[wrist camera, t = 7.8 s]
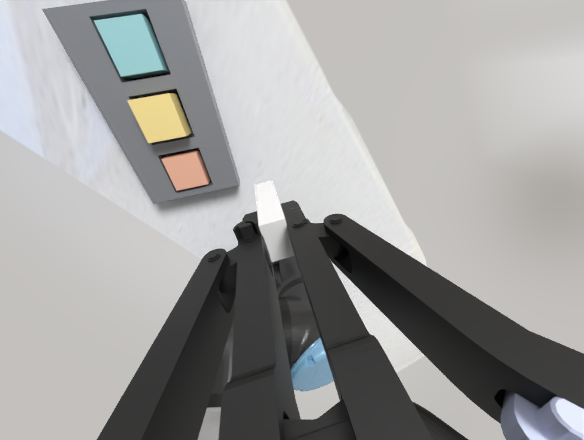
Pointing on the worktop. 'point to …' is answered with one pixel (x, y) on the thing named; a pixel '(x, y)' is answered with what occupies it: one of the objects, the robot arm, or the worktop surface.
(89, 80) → the button panel
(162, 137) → the yellow button
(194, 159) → the terracotta button
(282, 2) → the worktop surface
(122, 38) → the teal button
